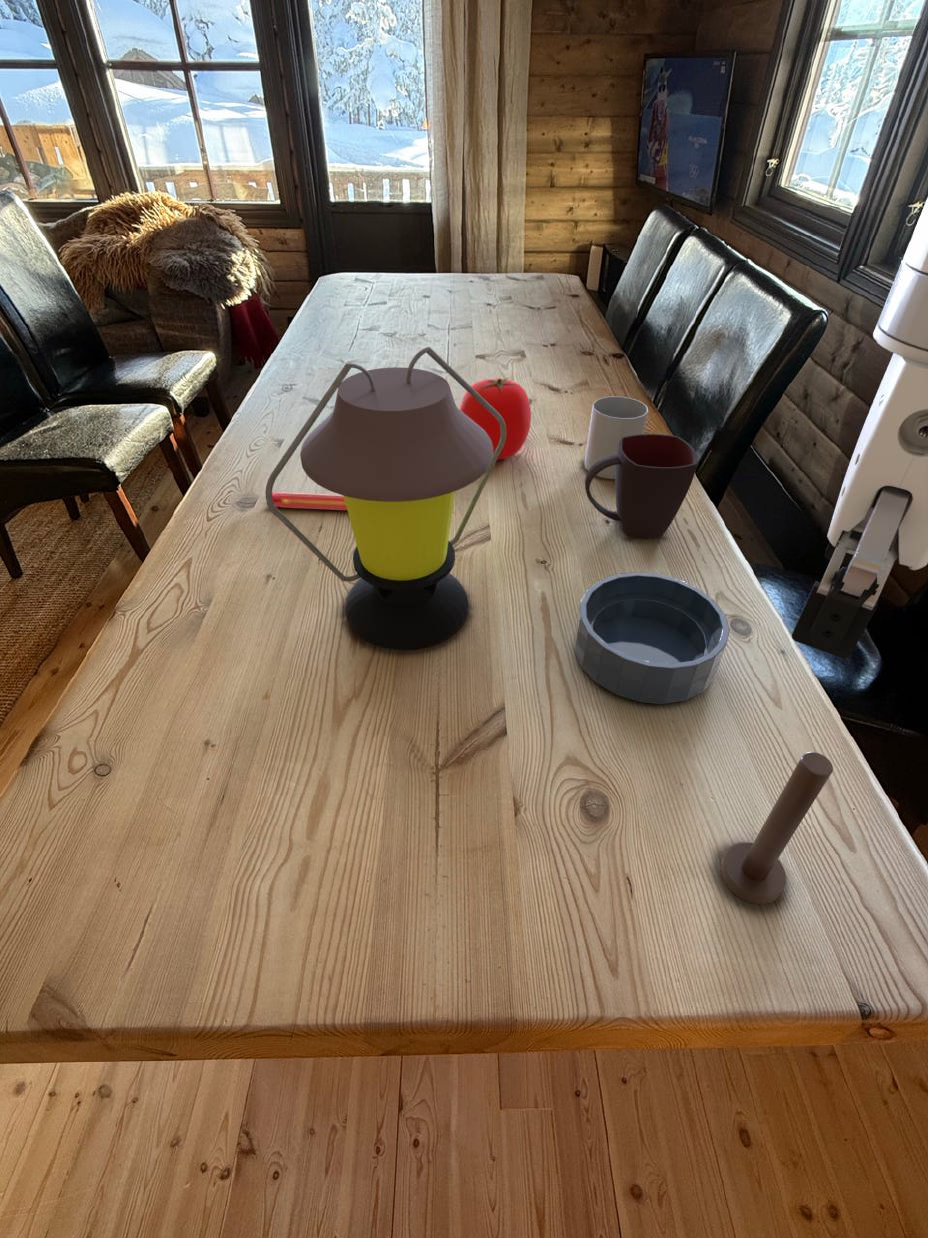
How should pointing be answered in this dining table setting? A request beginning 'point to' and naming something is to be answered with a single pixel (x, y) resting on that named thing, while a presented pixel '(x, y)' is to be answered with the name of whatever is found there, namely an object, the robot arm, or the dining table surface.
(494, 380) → the tomato
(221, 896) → the dining table surface
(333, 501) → the red bar
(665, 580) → the bowl
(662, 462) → the mug
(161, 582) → the dining table surface
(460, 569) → the dining table surface
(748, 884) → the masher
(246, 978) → the dining table surface
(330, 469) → the lantern
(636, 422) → the cup
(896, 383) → the robot arm
